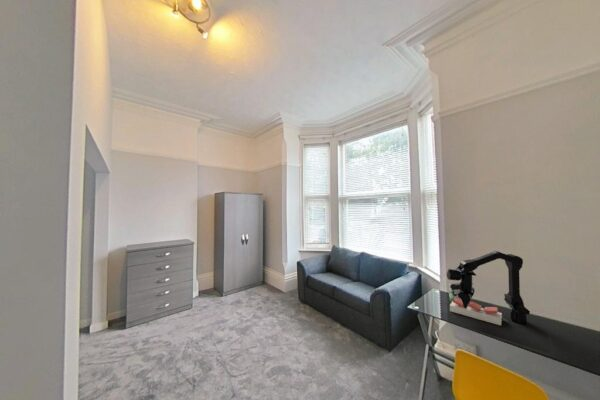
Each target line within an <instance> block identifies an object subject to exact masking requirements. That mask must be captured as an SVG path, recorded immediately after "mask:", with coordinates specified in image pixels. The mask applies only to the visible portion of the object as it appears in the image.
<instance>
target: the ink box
mask: <svg viewBox="0 0 600 400" xmlns="http://www.w3.org/2000/svg"><path fill="white" fill-rule="evenodd" d="M451 284H452V283H449V284H448V297H449V299H448V300H449V301H450V302H451V303H452V301H453V300H454V299H455V297H456V298H458V299H460V298H459V297H458V293H459V292H460V289H459V290H452V289H451V288H450V287H451V286H450V285H451ZM460 300H461V299H460Z"/></svg>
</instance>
